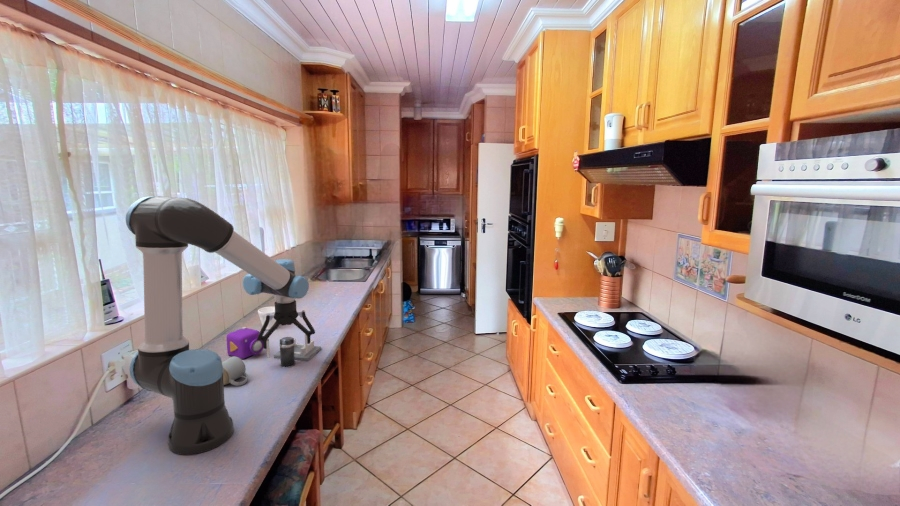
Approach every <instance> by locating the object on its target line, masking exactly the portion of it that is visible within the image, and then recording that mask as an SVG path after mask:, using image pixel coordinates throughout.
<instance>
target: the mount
mask: <svg viewBox="0 0 900 506" xmlns="http://www.w3.org/2000/svg"><path fill="white" fill-rule="evenodd" d="M296 341H297V340H296V338H294V358H295V361H301V362H308V361H310V360H311V359H312V358H313V357H314V356H315V355H316V354H317V353H319V352H320V351H321V349H322V346H319V345H315V340H311V339H310V341H311V342H310V344H308V353H306V351H305V343H297V342H296ZM273 358H274V359H278V360H279V359H280V350H279V351H278V352H276V353H275V354H274V355H273Z"/></svg>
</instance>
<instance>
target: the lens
mask: <svg viewBox="0 0 900 506" xmlns="http://www.w3.org/2000/svg"><path fill="white" fill-rule="evenodd" d="M294 339H295V338H294V337H292V336H285V337H281V338H280V339H279V351H280V367H282V368H290V367H293V366H295V363H296V362H295V361H296V360H295V358H294Z"/></svg>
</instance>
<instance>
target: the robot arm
mask: <svg viewBox="0 0 900 506" xmlns="http://www.w3.org/2000/svg"><path fill="white" fill-rule="evenodd" d="M125 224H126V227H127V228H128V230H129V231H130V232H131V233H132V234H133V235H134V237H135V248H136V249H138V251H140V252H141V253H142V255H143V256H142V259H143V261H142V262H143V263H142V267H143V303H144V304H143V306H144V307H143V308H144V311H143V312H144V341H142V342H141V343H140V344H139V345H138V347H137V349H138V350H137V352H136V354H135V356H134V357H133V358H132V359H131V361H130V365H129V376H130V378H131V380H132V382H133V383H135V385H137V386H138V387H141V388H142V389H144V390H146V391H148V392H153V393H157V394H159V395H161V396H165V397H166V398H170V399H172V404H173V405H172V407H173V413H174V414H173V415H174V416H173V417H174V418H173V421H172V424H171V427H170V431H169V434H168V437H167V438H168V448H169V450H170V451H171V452H173V453H174V454H178V455H183V456H184V455H187V456H188V455H197V454H201V453H205V452H207V451H210V450H213V449H215V448H217V447H219V446H221V445H223V444H224V443H225V442H227V441H228V440H229V439H230V438H231V437H232V435H233V433H234V431H235V430H234V421H233V419H232V417H231V416H230V414H229V412H228V409H227V406H226V405H225V401H226V400H225V389H224V388H225V385H224V383H223V366H222V362H223V361H222V358H221V356H220V355H219V354H218V353H217V352H216V351H213V350H210V349H204V348H202V349H198V348H196V349H190V341H189V339H188V338H186V337H185V336H184V332H183V331H184V330H183V326H184V325H183V324H184V323H183V263H182V262H183V259H182V258H183V256H182V255H183V252H184V251H185V250H187V248H188V247H189V245H190V246H194V247H197V248H199V249H201V250H204V252H206V253H210V254H213V253H215V254H217V255H219V256H220V257H222V258H223V259H225V260H227V261H228V262H230V263H231V264H233V265H234V266H236V267H237V268H240V269H241V270H243V272H246V273H247V274H246V275H244V276H243V279H242V286H243V287H242V288H243V289H244V292H246V293H247V294H248V295H250V296H254V295H255V296H256V295H260V294H269V295H273V299H274V301H275V302H274V306H275V314H274V315H270V314H266V320H265V322H264V324H263V327H262V326H261V329H260V330H259V332H260V333H259V335H258V338H257V339H258V340H262V341H263V350H266V356H267V359H268V358H270V339H269V338H270V336H271V335H272V334H274V332H275V331H276V329H277V328H279V326H282V327H283V326H286V325H288V326H291V325H294V326H296V328H298V329H299V330H300V331H301V332H302V333H303V334H304V344H305V351H306V353H308V344H310V342H311V336H312V335H315V334H316V330H315V328H314V327H313V325H312V324H311V322H310V320H309V318H308V317H307V314H306V311H305V310H301V311H297V300H296V299H302V298H304V297H305V296H306V295H307V293H308V291H309V287H310V285H309V284H310V283H309V281H308V279H307V278H306V277H304V276H302V275H300V274H299V275H296V268H295V261H293V259H287V258H283V259H282V258H281V259H280V258H279V259H276V260H274V259H273V258H272V257H270V256H269V255H268V254H266V253H265V252H264V251H262V250H261V249H260V248H258V247H256V246H255V245H254V244H253V243H251V242H250V241H249V240H247V239H246V238H244V237H243V236H242V235H240V234H239V233H238V232H236V231H235V228H234V226H233V224H232V223H230V222H229V221H228V220H226V219H225V218H224V217H222V216H221V215H220V214H218V213H217V212H215V211H214V210H212V209H211V208H209V207H208V206H206V205H205V204H202V203H201V202H199V201H196V200H194V199H192V198H186V197H172V196H162V195H153V196H144V197H141V198H139V199H137V200H136V201H134V202H133V203H131V205H130V206H129V207H128V208H127V211H126V214H125ZM298 316H299V317H300V318H301V319H302V320H303V321H304V322H305V325H306V326H307V328H306V327H305V326H304V325H303V324H302V323H301V322H300V321H299V320H298ZM272 318H274V319H275V320H276V322H275V323H274V325H273V326H272V327H271V328H270V329H269V330H266V328H267V326H268V324H269V321H271V320H272ZM308 329H309V330H308ZM265 331H267V332H266V333H265Z"/></svg>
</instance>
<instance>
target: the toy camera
mask: <svg viewBox="0 0 900 506" xmlns="http://www.w3.org/2000/svg"><path fill="white" fill-rule="evenodd" d="M259 333H260V330H256V329H252V328H248V327H247V326H243V327H241V328H239V329H237V330H235V331H231V332H229V333H227V334H226V352H227V355H229V356H230V357H233V356H236V357H238V358H240V359H241V360H243V359H246V358H249V357H251V356H253V355H259V354H260V353H261V352H262V351H263V350H264V348H263V341H262V340H258V339H257V338H258V335H259Z"/></svg>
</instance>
